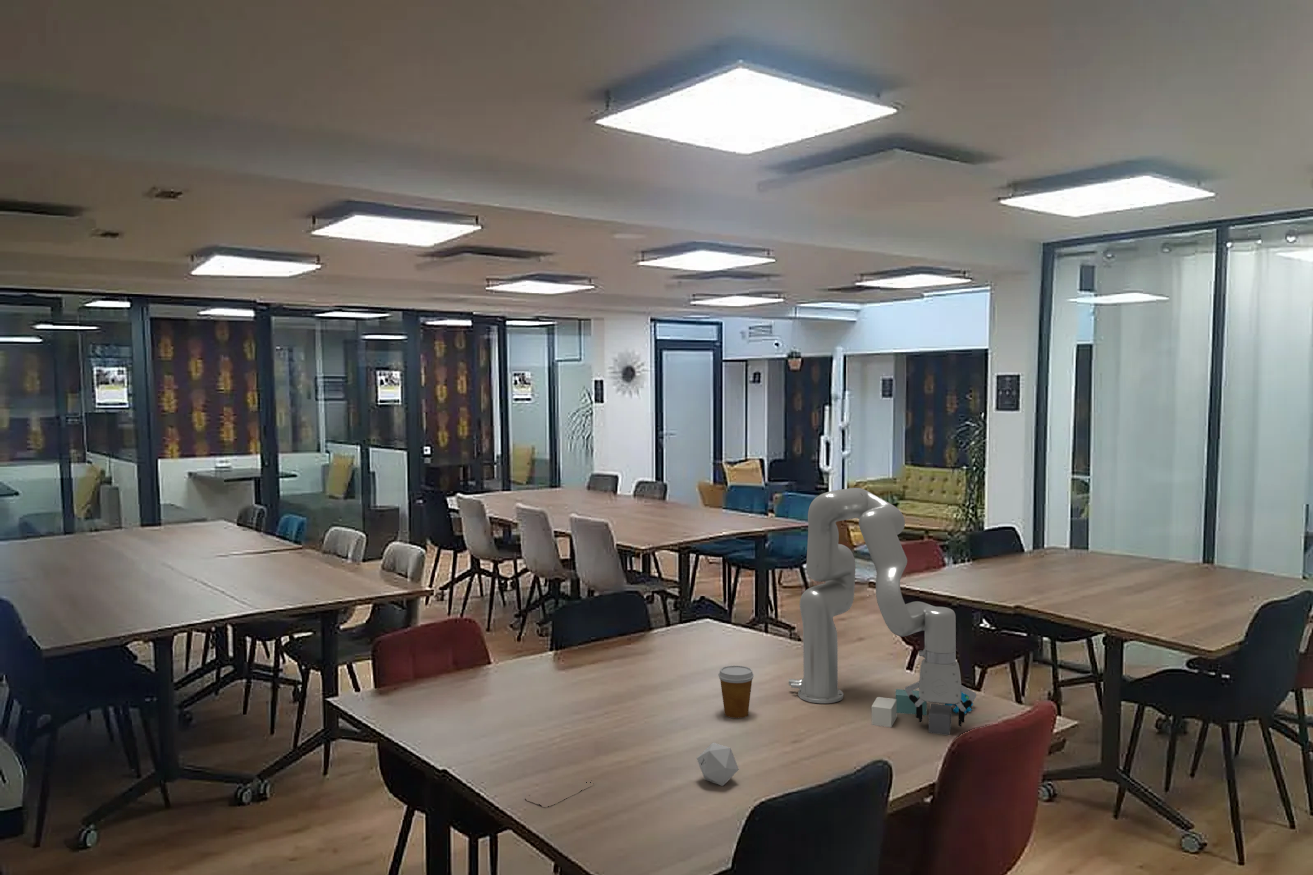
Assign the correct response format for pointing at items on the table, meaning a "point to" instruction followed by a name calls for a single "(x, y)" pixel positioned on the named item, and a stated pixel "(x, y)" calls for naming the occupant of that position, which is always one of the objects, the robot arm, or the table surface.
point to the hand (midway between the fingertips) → (940, 722)
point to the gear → (963, 698)
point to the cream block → (884, 712)
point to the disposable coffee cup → (736, 690)
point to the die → (717, 764)
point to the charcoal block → (940, 719)
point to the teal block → (908, 702)
